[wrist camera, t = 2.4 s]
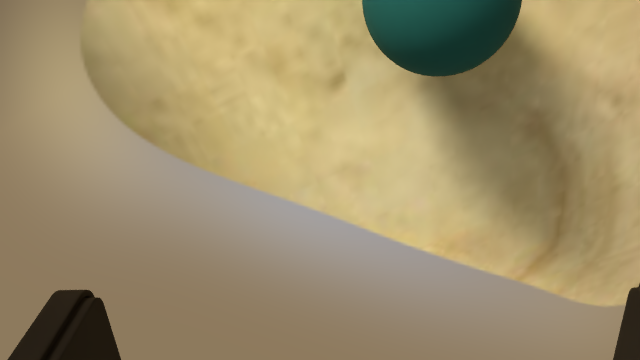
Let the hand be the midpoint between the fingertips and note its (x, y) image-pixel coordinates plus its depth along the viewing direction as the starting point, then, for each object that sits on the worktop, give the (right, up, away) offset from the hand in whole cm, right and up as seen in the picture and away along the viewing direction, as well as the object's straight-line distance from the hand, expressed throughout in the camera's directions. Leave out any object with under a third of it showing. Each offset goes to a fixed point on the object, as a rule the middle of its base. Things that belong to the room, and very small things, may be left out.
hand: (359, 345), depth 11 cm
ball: (+4, +11, +15) cm, 19 cm away
